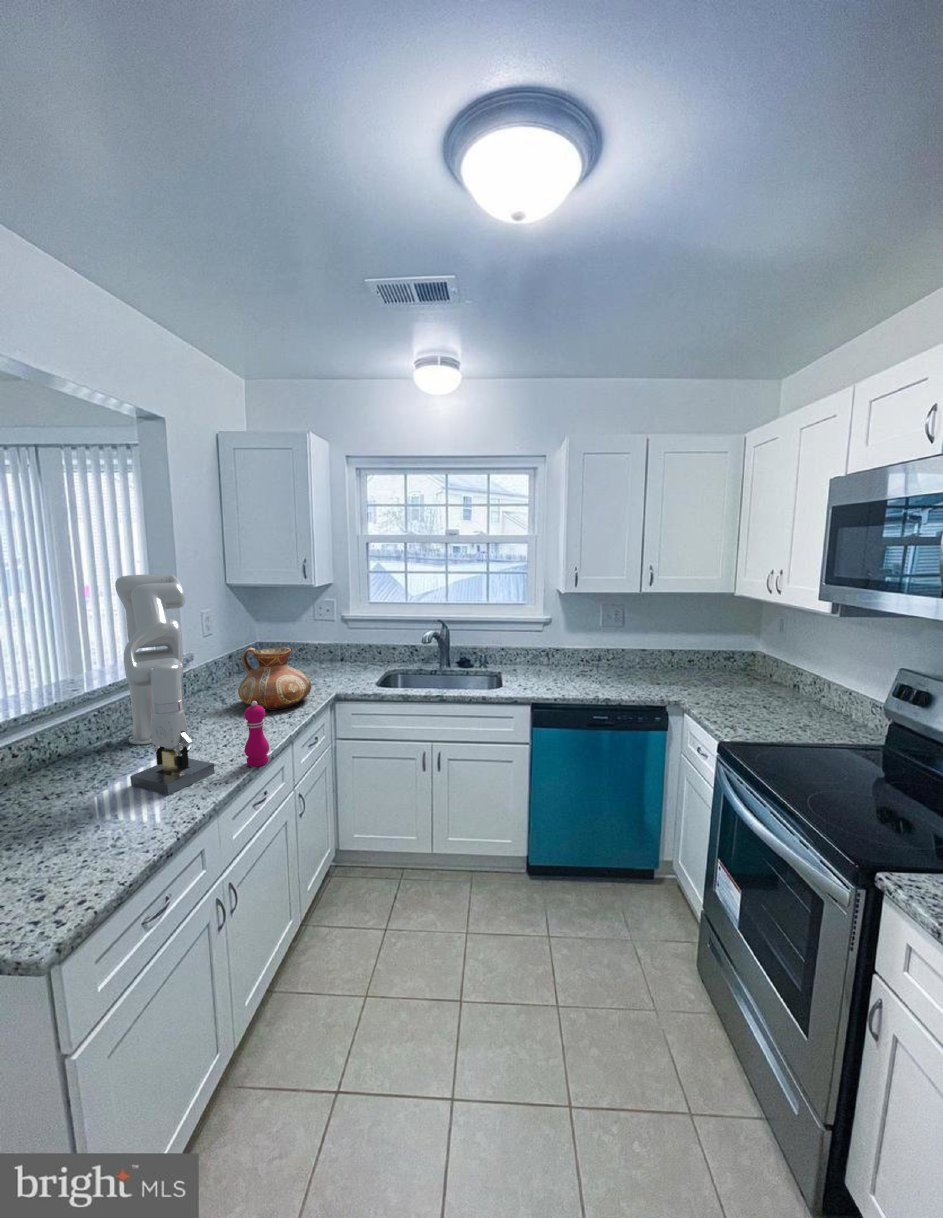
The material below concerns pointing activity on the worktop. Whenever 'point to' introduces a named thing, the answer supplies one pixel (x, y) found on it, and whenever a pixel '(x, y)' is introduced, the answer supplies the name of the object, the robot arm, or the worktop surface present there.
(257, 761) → the pepper mill
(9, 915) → the worktop surface
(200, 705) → the worktop surface
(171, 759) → the cylinder
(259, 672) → the jug
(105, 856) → the worktop surface
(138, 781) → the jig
